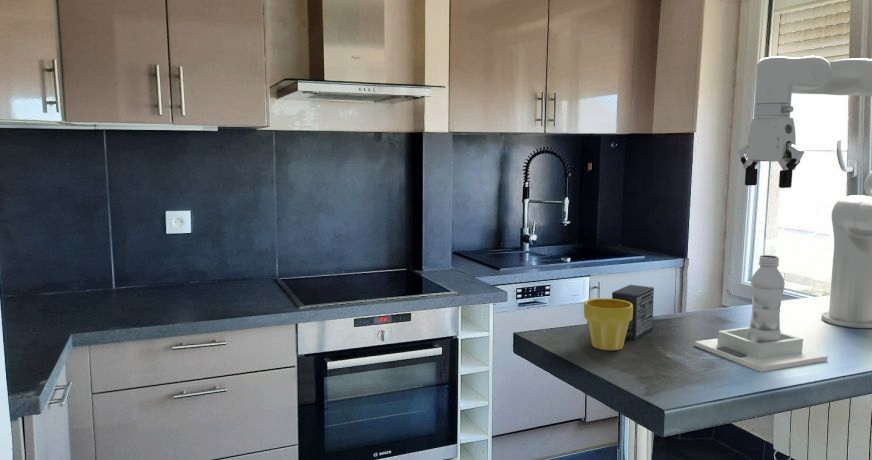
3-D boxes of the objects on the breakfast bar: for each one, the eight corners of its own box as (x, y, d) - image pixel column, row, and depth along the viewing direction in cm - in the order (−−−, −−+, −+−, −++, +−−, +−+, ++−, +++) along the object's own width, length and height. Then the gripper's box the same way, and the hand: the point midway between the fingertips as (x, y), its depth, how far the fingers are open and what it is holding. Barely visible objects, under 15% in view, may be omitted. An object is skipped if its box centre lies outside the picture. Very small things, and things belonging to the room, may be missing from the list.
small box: (627, 325, 162) (629, 283, 161) (653, 329, 158) (655, 287, 157) (609, 334, 154) (610, 291, 153) (636, 339, 150) (637, 295, 149)
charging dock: (756, 337, 152) (757, 320, 151) (827, 360, 135) (828, 341, 135) (694, 345, 145) (695, 328, 145) (761, 371, 129) (762, 352, 128)
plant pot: (587, 337, 152) (588, 295, 151) (633, 342, 148) (635, 299, 147) (579, 350, 143) (580, 306, 141) (628, 355, 139) (630, 310, 137)
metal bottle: (781, 347, 141) (787, 255, 138) (779, 356, 135) (786, 260, 132) (748, 343, 144) (753, 253, 141) (745, 351, 138) (750, 257, 135)
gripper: (817, 110, 145) (811, 188, 147) (754, 114, 161) (750, 184, 163) (792, 110, 143) (787, 189, 145) (730, 113, 159) (726, 184, 161)
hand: (767, 186), depth 154 cm, fingers open, 9 cm apart
